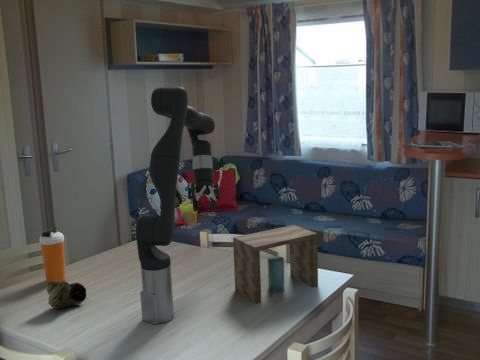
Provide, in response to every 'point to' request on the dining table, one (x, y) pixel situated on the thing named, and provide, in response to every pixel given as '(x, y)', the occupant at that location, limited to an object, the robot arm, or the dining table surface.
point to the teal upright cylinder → (276, 273)
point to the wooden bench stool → (251, 244)
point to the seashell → (65, 294)
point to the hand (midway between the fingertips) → (204, 211)
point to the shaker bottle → (53, 254)
